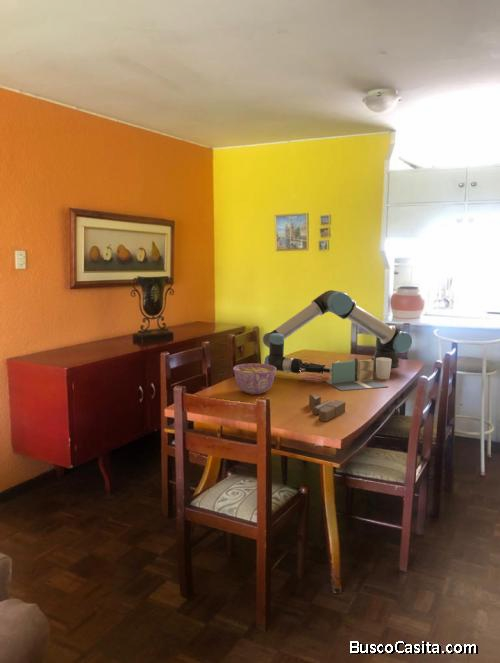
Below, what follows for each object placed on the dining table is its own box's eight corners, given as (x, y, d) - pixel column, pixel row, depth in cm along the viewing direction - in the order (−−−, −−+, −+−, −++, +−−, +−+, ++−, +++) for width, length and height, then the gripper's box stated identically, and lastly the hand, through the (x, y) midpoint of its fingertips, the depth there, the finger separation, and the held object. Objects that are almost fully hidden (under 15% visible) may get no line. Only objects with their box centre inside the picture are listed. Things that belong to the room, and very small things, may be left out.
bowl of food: (268, 400, 229) (268, 374, 227) (226, 395, 236) (226, 370, 234) (281, 389, 248) (281, 365, 246) (242, 385, 255) (242, 362, 253)
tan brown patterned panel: (373, 380, 266) (374, 357, 264) (374, 380, 265) (375, 357, 263) (353, 381, 263) (354, 358, 261) (354, 382, 261) (355, 358, 260)
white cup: (378, 375, 277) (379, 356, 275) (392, 377, 272) (393, 358, 271) (372, 378, 271) (373, 359, 269) (387, 380, 266) (388, 361, 264)
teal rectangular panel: (352, 380, 262) (353, 360, 261) (354, 380, 261) (355, 361, 260) (331, 382, 257) (331, 362, 255) (333, 383, 256) (333, 363, 254)
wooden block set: (347, 398, 213) (326, 409, 199) (346, 412, 214) (326, 423, 199) (310, 392, 223) (288, 401, 208) (310, 404, 224) (288, 415, 209)
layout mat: (367, 377, 271) (367, 376, 271) (388, 387, 252) (388, 386, 252) (323, 380, 264) (323, 379, 264) (341, 390, 245) (341, 389, 245)
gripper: (298, 370, 276) (340, 375, 264) (287, 375, 264) (331, 381, 253) (298, 356, 275) (341, 361, 263) (287, 360, 263) (332, 366, 252)
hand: (336, 371), depth 258 cm, fingers closed
